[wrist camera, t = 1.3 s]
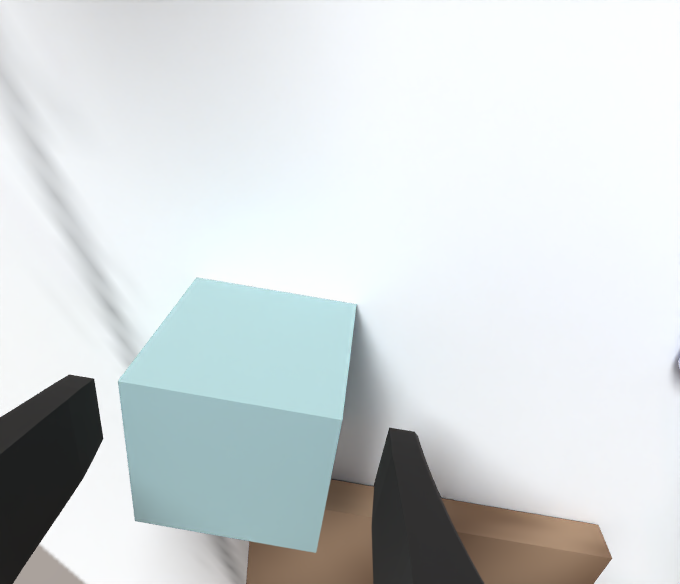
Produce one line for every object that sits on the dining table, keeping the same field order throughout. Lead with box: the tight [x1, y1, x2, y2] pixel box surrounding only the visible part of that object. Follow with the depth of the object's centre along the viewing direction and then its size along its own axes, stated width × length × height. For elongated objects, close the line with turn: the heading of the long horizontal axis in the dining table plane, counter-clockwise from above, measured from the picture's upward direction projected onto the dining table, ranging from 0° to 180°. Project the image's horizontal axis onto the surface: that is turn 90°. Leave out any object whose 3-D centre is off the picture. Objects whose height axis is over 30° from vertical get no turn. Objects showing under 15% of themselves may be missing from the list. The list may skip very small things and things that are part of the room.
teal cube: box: [118, 278, 357, 553], centre depth 12 cm, size 4×4×4 cm
